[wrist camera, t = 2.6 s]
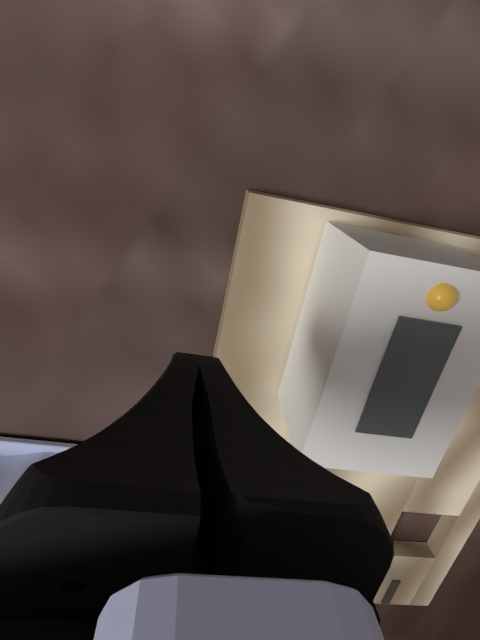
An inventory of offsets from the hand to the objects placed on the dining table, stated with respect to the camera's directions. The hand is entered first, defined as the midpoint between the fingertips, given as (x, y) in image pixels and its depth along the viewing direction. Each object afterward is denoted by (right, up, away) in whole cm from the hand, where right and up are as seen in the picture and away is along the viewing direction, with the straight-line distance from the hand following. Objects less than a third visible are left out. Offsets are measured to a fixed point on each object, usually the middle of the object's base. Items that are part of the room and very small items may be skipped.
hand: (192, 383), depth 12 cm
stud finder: (+7, +2, +8) cm, 11 cm away
